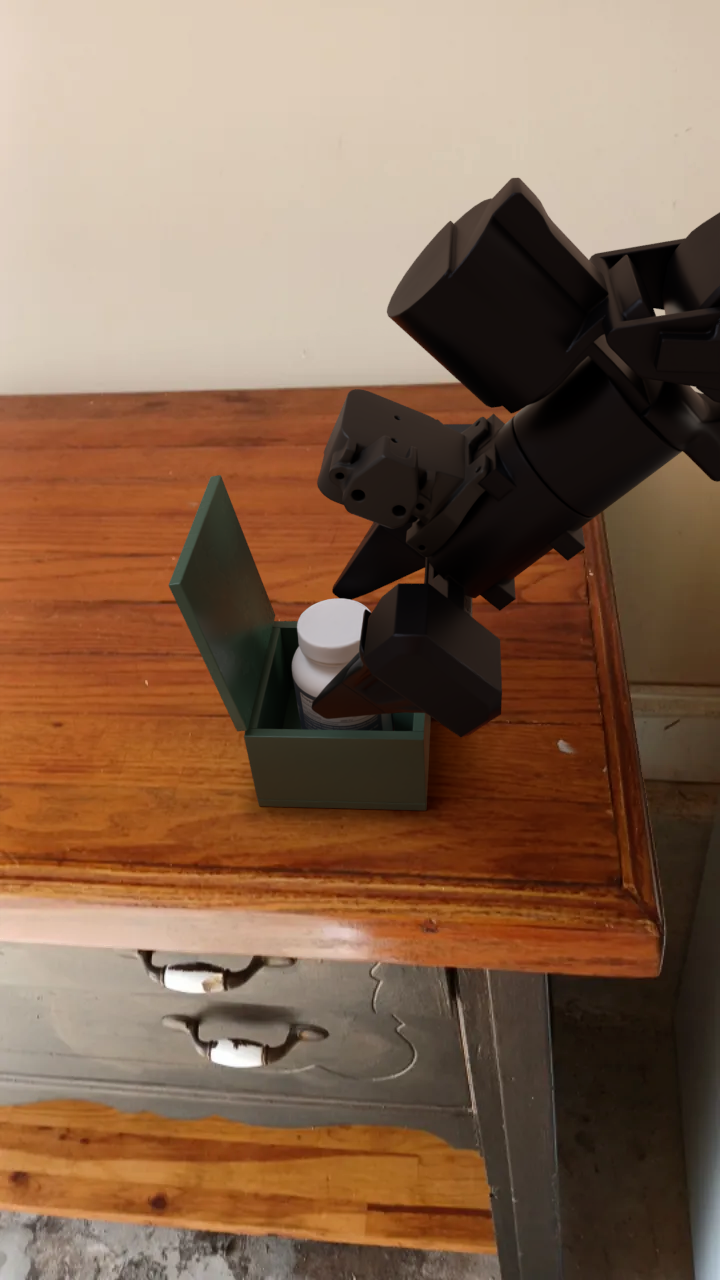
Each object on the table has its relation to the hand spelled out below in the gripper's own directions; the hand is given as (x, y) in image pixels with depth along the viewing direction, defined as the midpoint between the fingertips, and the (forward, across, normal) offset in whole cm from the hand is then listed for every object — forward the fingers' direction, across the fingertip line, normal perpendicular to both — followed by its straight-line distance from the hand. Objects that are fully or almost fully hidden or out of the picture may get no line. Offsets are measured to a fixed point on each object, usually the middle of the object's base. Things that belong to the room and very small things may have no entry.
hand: (329, 649), depth 51 cm
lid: (+1, 0, -6) cm, 6 cm away
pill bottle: (+5, 0, +5) cm, 7 cm away
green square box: (+5, 0, +6) cm, 8 cm away
